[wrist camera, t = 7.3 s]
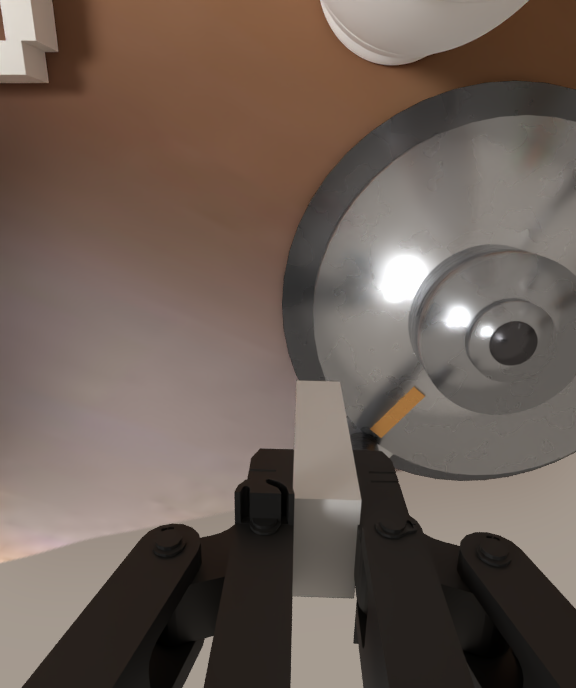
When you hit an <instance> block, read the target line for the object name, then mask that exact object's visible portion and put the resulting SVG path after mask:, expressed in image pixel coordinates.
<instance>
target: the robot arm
mask: <svg viewBox="0 0 576 688" xmlns="http://www.w3.org/2000/svg"><path fill="white" fill-rule="evenodd" d="M355 588H356V596H357V604H356V617H355V630H354V643H355V644H359V653H360V661H361V670H362V679H363V687H364V688H576V609H575V608H574V607H573V606H572V605H571V604H570V602H569V601H568V600H567V599H566V598H565V597H564V596H563V595H562V594H561V593H560V592H559V590H558V589H557V588H556V587H555V586H554V585H553V584H552V583H551V582H550V581H549V580H548V578H547V577H546V576H545V575H544V574H543V573H542V572H541V571H540V570H539V569H538V567H537V566H536V565H535V564H534V563H533V562H532V561H531V560H530V559H529V558H528V556H526V554H525V553H524V552H523V551H522V550H521V549H520V548H519V547H517V546H516V545H515V544H514V543H513V542H511V541H509V540H507V539H505V538H503V537H501V536H499V535H495V534H491V533H487V532H486V533H484V532H479V533H478V532H475V533H472V534H469V535H466V536H465V537H464V539H462V541H461V543H460V546H457V545H454V544H450V543H445V542H442V541H439V540H436V539H433V538H431V537H429V536H427V535H426V534H424V533H423V531H422V528H421V527H420V525H419V524H418V522H417V521H416V520H415V519H413V518H412V517H411V516H410V515H409V513H408V510H407V507H406V504H405V501H404V498H403V494H402V491H401V488H400V485H399V483H398V479H397V475H396V472H395V469H394V466H393V462H392V460H391V459H390V458H389V457H387V456H386V455H385V454H384V453H383V452H382V451H367V450H352V445H351V440H350V434H349V429H348V423H347V418H346V412H345V407H344V401H343V396H342V390H341V385H340V382H335V381H297V380H296V408H295V439H294V450H290V449H259V450H258V452H257V453H256V454H255V455H254V456H253V457H252V458H251V463H250V468H249V474H248V479H247V480H245V481H244V482H242V483H241V484H239V485H238V487H237V488H236V490H235V525H233V526H232V527H231V528H230V529H228V530H226V531H224V532H222V533H219V534H215V535H212V536H207V537H202V538H200V537H199V534H198V533H197V532H196V531H195V530H194V529H193V528H191V527H189V526H186V525H184V524H168V525H163V526H159V527H157V528H155V529H153V530H151V531H149V532H148V533H147V534H146V535H145V536H144V537H142V538H141V540H140V541H139V542H138V543H137V544H136V546H135V547H134V548H133V549H132V551H131V552H130V553H129V554H128V556H127V557H126V558H125V559H124V561H123V562H122V563H121V564H120V566H119V567H118V568H117V569H116V571H115V572H114V573H113V574H112V576H111V577H110V578H109V579H108V581H107V582H106V583H105V584H104V586H103V587H102V588H101V589H100V591H99V592H98V593H97V594H96V596H95V597H94V598H93V599H92V600H91V602H90V603H89V604H88V605H87V607H86V608H85V609H84V610H83V612H82V613H81V614H80V615H79V617H78V618H77V619H76V621H75V622H74V623H73V624H72V625H71V627H70V628H69V629H68V630H67V632H66V633H65V634H64V635H63V637H62V638H61V639H60V640H59V642H58V643H57V644H56V645H55V647H54V648H53V649H52V650H51V652H50V653H49V654H48V655H47V657H46V658H45V659H44V660H43V662H42V663H41V664H40V666H39V667H38V668H37V669H36V670H35V672H34V673H33V674H32V675H31V677H30V678H29V679H28V680H27V682H26V683H25V684H24V685H23V686H22V688H182V687H183V685H184V683H185V681H186V679H187V677H188V675H189V673H190V671H191V669H192V667H193V665H194V663H195V661H196V658H197V657H198V654H199V652H200V650H201V648H202V646H203V643H204V639H205V638H207V637H211V636H214V637H213V642H212V647H211V652H210V658H209V663H208V668H207V673H206V678H205V684H204V688H290V680H291V633H292V632H291V631H292V596H301V597H329V598H354V592H355Z"/></svg>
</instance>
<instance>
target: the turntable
mask: <svg viewBox="0 0 576 688" xmlns="http://www.w3.org/2000/svg"><path fill="white" fill-rule="evenodd" d="M486 244H500V245H508V246H512V247H516V248H519V249H522V250H525V251H528V252H531V253H534V254H537V255H540V256H543V257H546V258H549V259H551V260H553V261H556V262H558V263H559V264H561V265H563V266H564V267H566V268H567V269H568V270H570V271H571V272H572V273H573V274H574V275H575V276H576V122H574V121H570V120H566V119H561V118H557V117H547V116H534V115H520V116H505V117H497V118H492V119H487V120H482V121H477V122H472V123H469V124H466V125H463V126H460V127H457V128H454V129H451V130H449V131H446V132H443V133H440V134H437V135H435V136H433V137H431V138H429V139H427V140H425V141H423V142H421V143H419V144H417V145H415V146H413V147H411V148H409V149H408V150H407V151H405V152H404V153H402V154H401V155H399V156H398V157H396V158H395V159H393V160H392V161H390V162H389V163H388V164H387V165H385V166H384V167H383V168H382V169H381V170H380V171H379V172H377V173H376V174H375V175H374V176H373V177H372V178H371V179H370V180H369V181H368V182H367V183H366V184H365V185H364V186H363V187H362V189H361V190H360V191H359V192H358V193H357V194H356V195H355V196H354V198H353V199H352V200H351V202H350V203H349V205H348V206H347V208H346V209H345V210H344V212H343V213H342V215H341V216H340V218H339V220H338V221H337V223H336V225H335V227H334V229H333V231H332V233H331V235H330V237H329V239H328V241H327V244H326V247H325V249H324V252H323V255H322V257H321V260H320V264H319V268H318V272H317V277H316V281H315V289H314V300H313V318H314V337H315V342H316V348H317V353H318V358H319V361H320V364H321V367H322V370H323V373H324V376H325V379H326V381H335V382H340V385H341V390H342V396H343V401H344V407H345V412H346V418H347V423H348V429H349V434H350V440H351V445H352V450H367V451H382V452H383V453H384V454H385V455H386V456H387V457H389V458H390V457H391V456H392V455H393V454H394V455H396V456H399V457H401V458H403V459H405V460H407V461H409V462H411V463H414V464H417V465H420V466H423V467H426V468H429V469H433V470H438V471H443V472H448V473H454V474H466V475H495V474H503V473H510V472H517V471H521V470H525V469H529V468H533V467H537V466H541V465H544V464H546V463H549V462H552V461H554V460H557V459H560V458H562V457H564V456H566V455H568V454H570V453H572V452H575V451H576V376H575V377H574V379H573V380H572V381H571V382H570V383H569V384H568V385H567V386H566V387H565V388H564V389H563V390H562V391H560V392H559V393H558V394H557V395H555V396H554V397H552V398H551V399H549V400H548V401H546V402H544V403H542V404H540V405H538V406H536V407H534V408H531V409H528V410H525V411H522V412H517V413H513V414H504V415H490V414H481V413H477V412H473V411H470V410H467V409H465V408H462V407H460V406H458V405H456V404H455V403H453V402H451V401H450V400H449V399H447V398H446V397H445V396H444V395H443V394H442V393H441V392H440V391H439V390H438V389H437V388H436V387H435V385H434V384H433V383H432V381H431V379H430V378H429V376H428V375H427V373H426V371H425V370H424V368H423V367H422V365H421V363H420V362H419V360H418V358H417V357H416V355H415V353H414V351H413V348H412V346H411V343H410V338H409V332H408V317H409V311H410V306H411V304H412V301H413V298H414V295H415V293H416V291H417V289H418V288H419V286H420V284H421V283H422V281H423V280H424V279H425V277H426V276H427V275H428V274H429V273H430V272H431V271H432V270H433V269H434V268H435V267H436V266H437V265H438V264H439V263H441V262H442V261H443V260H445V259H446V258H448V257H450V256H451V255H453V254H455V253H457V252H459V251H462V250H464V249H467V248H471V247H474V246H479V245H486Z"/></svg>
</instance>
